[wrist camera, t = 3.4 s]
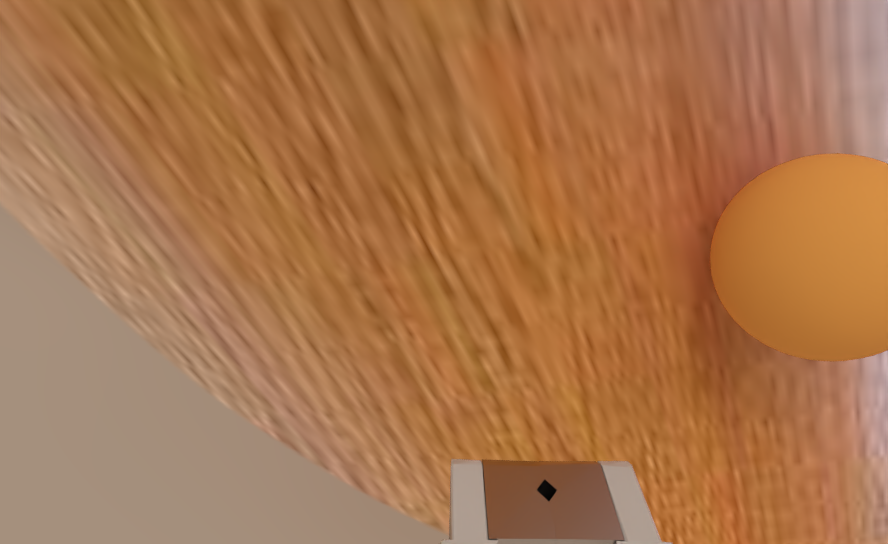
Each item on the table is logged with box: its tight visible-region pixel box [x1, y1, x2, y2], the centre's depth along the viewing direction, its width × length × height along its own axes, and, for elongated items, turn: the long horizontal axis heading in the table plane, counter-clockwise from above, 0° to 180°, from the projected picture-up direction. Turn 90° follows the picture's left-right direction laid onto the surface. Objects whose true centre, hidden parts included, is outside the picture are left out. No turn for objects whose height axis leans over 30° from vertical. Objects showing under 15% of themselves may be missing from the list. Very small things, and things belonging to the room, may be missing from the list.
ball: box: [710, 153, 888, 361], centre depth 18 cm, size 6×6×6 cm
